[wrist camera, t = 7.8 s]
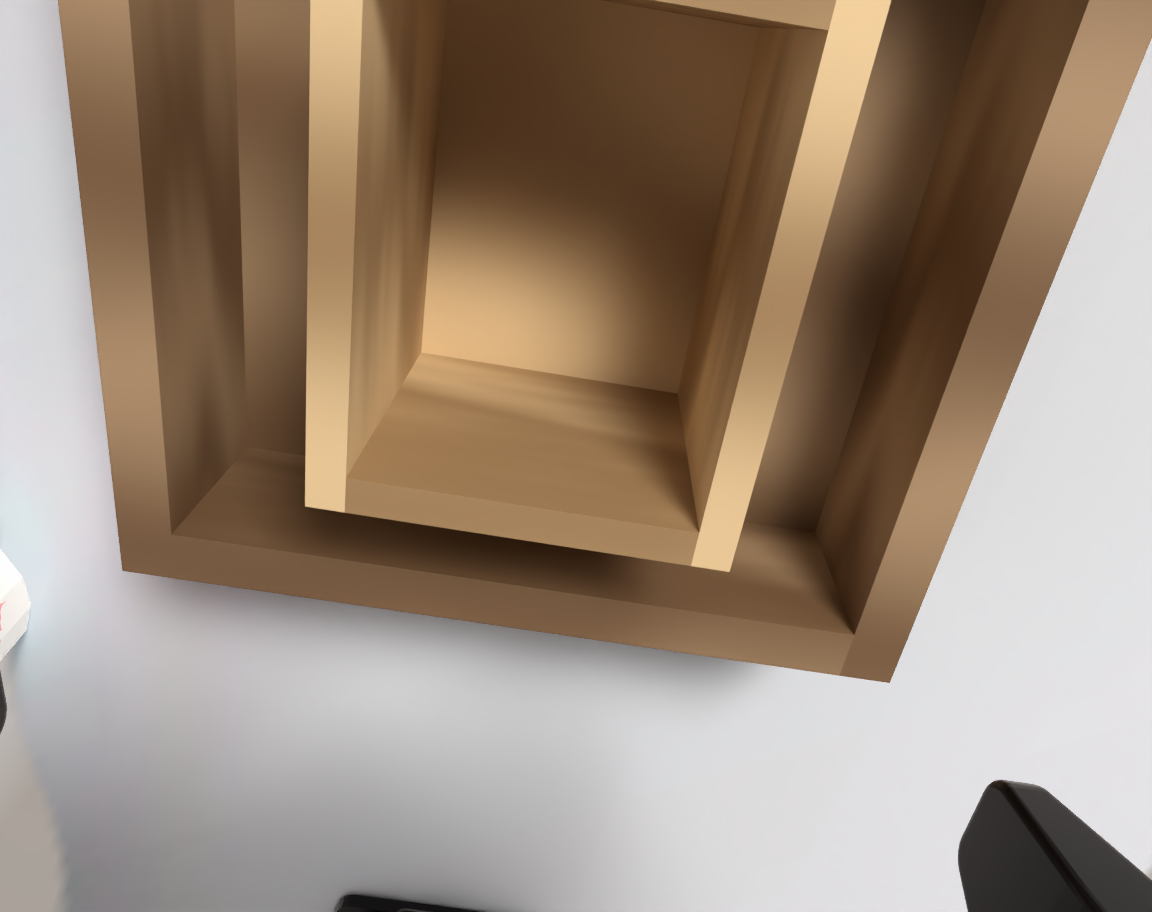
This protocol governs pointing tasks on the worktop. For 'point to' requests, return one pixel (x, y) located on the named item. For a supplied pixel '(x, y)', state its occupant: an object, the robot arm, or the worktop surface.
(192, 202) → the walnut crate
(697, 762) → the worktop surface
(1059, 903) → the robot arm
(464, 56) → the oak crate
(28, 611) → the beverage cup
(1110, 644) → the worktop surface
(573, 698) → the worktop surface
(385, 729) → the worktop surface
